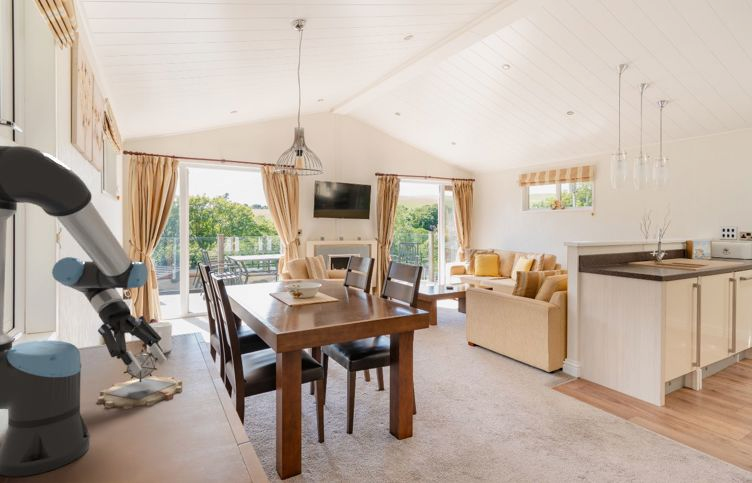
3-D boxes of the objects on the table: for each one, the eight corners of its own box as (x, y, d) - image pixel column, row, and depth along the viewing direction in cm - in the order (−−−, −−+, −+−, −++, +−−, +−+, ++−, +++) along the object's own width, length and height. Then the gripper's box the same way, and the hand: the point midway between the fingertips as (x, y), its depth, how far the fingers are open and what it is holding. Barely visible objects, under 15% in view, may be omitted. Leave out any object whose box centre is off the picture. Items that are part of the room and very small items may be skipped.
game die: (148, 390, 118) (169, 365, 118) (119, 388, 112) (141, 361, 111) (141, 369, 124) (161, 344, 123) (113, 366, 117) (134, 339, 117)
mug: (145, 358, 150) (145, 329, 150) (147, 349, 160) (147, 322, 160) (171, 355, 154) (171, 327, 153) (171, 347, 164) (171, 321, 164)
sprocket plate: (137, 414, 104) (137, 408, 104) (79, 401, 111) (79, 396, 111) (198, 385, 125) (198, 380, 125) (145, 376, 131) (145, 371, 131)
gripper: (135, 309, 132) (172, 364, 128) (69, 322, 113) (111, 387, 108) (147, 294, 131) (186, 349, 126) (82, 305, 111) (126, 370, 106)
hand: (151, 367), depth 117 cm, fingers closed on game die, 8 cm apart
